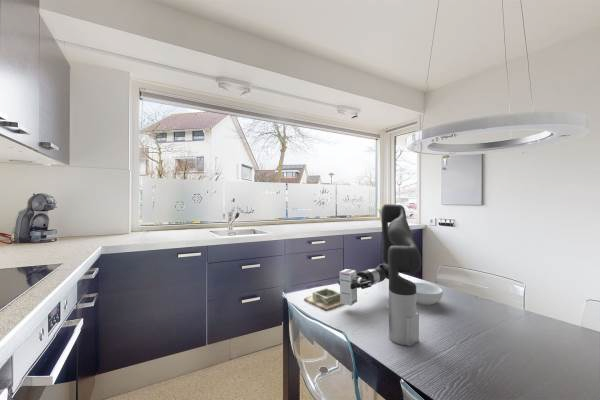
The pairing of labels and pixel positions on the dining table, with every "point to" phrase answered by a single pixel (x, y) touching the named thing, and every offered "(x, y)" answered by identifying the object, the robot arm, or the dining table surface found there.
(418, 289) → the cereal bowl
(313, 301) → the socket
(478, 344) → the dining table surface
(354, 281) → the syrup box
